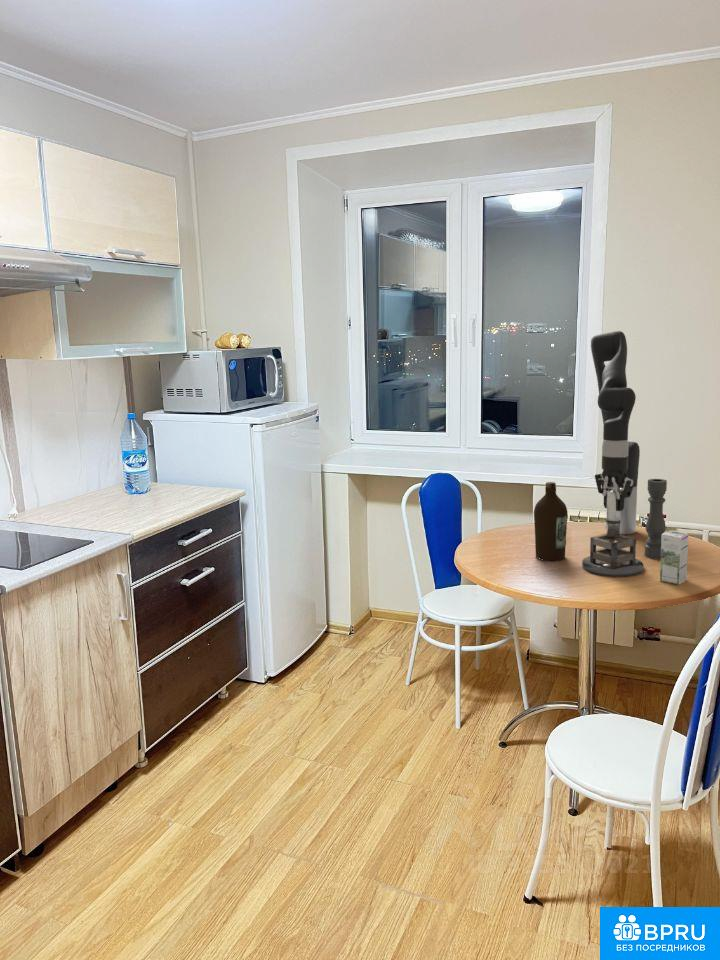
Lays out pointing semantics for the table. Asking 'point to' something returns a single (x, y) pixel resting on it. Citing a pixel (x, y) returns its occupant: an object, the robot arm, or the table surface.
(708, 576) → the table surface
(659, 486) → the candle holder
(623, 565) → the collar stand
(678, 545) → the syrup box
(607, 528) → the silver metal bottle
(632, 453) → the robot arm
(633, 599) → the table surface
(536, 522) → the olive oil
